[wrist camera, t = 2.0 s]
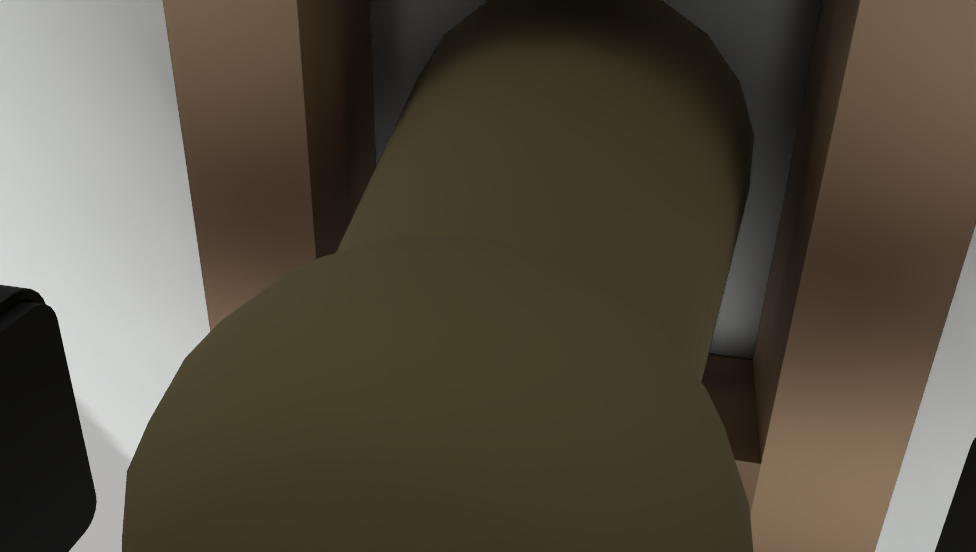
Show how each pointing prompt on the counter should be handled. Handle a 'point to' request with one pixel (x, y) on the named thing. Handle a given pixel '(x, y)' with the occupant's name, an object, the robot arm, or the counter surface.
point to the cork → (489, 319)
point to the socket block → (797, 254)
